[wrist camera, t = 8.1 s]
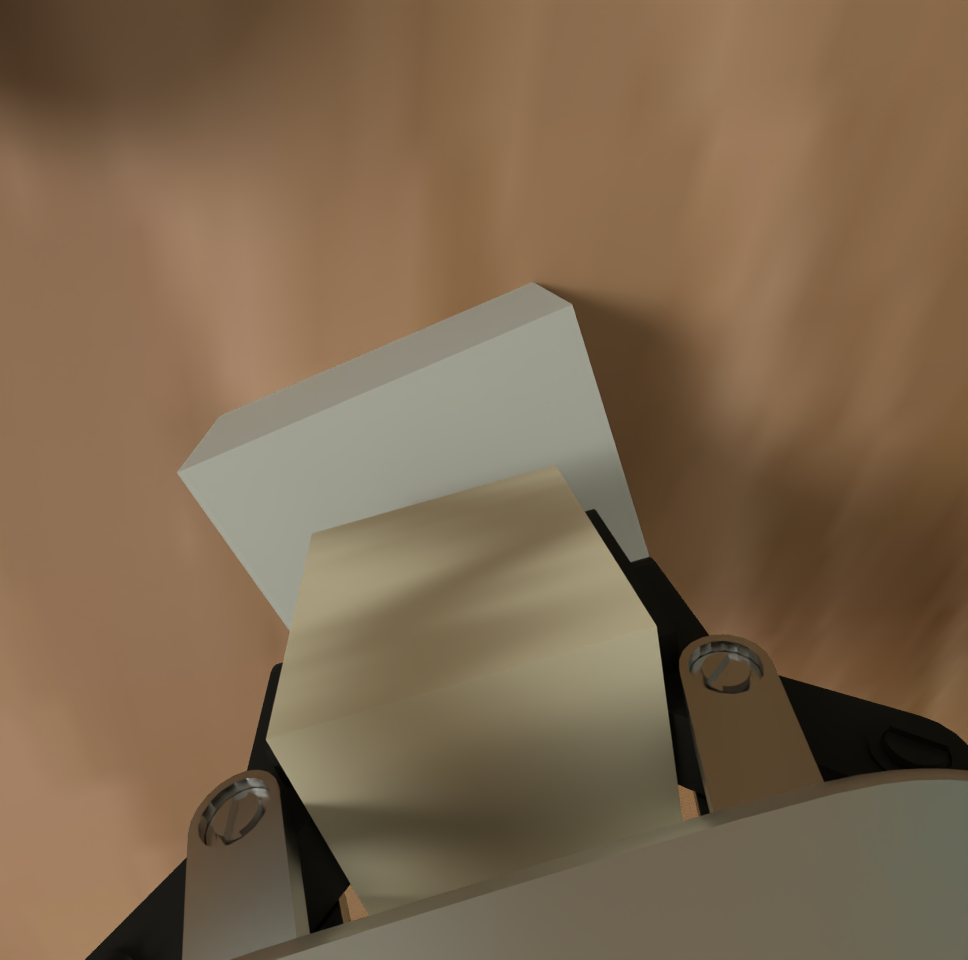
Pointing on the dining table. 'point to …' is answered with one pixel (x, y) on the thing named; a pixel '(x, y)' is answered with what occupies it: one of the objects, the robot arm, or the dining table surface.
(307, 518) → the grey base block
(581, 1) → the dining table surface
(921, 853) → the robot arm
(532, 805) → the cream cube
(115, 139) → the dining table surface
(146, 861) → the dining table surface
